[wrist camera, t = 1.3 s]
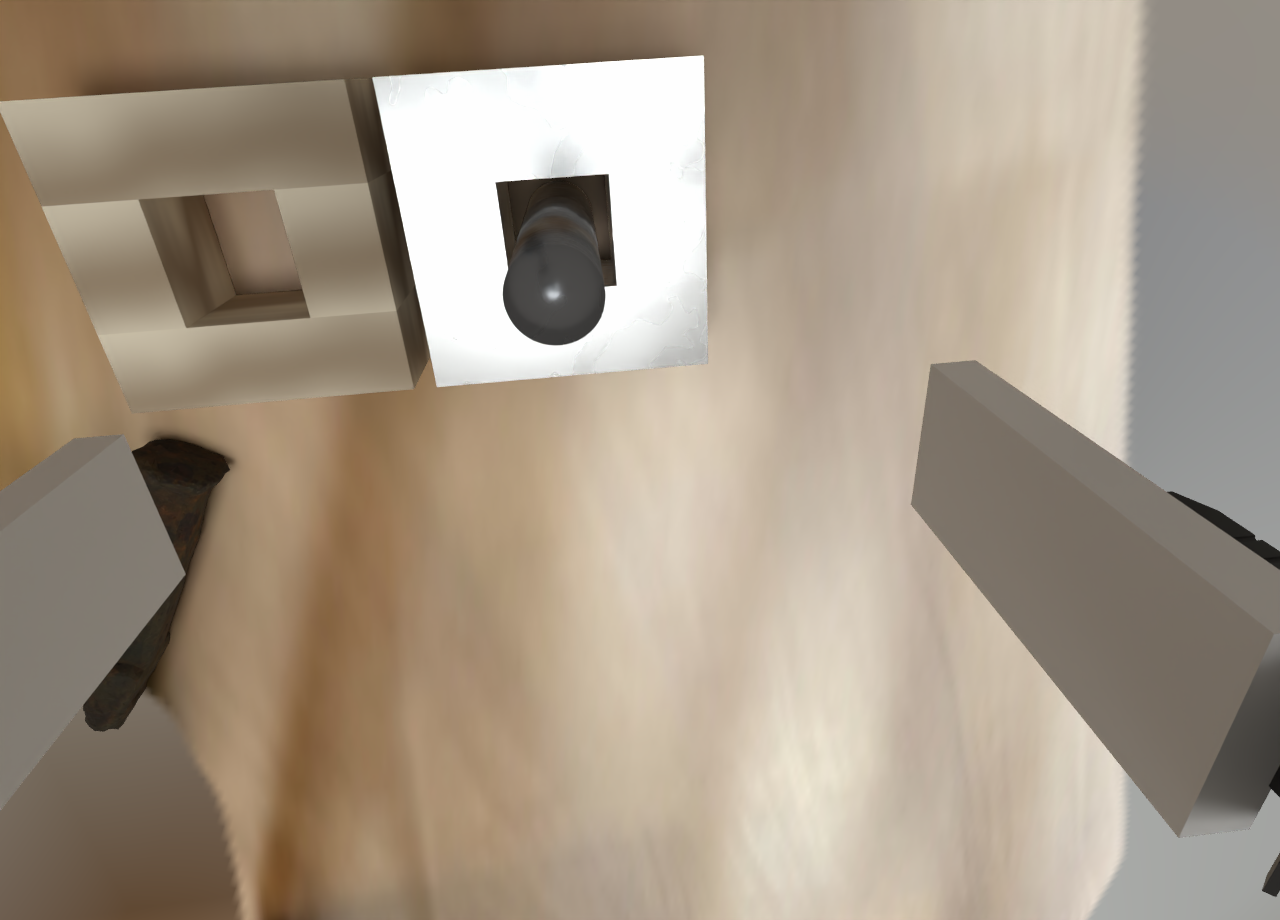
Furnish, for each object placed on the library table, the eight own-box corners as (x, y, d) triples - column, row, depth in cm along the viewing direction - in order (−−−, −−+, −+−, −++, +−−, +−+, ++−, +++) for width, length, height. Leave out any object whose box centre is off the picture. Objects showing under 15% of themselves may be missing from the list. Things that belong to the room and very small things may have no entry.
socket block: (401, 76, 30) (372, 77, 26) (684, 58, 31) (703, 55, 26) (453, 348, 36) (437, 387, 31) (691, 328, 36) (708, 363, 32)
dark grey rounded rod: (523, 182, 32) (494, 248, 20) (589, 178, 33) (601, 240, 20) (531, 250, 34) (510, 349, 22) (595, 245, 34) (609, 341, 22)
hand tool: (158, 423, 37) (106, 467, 32) (239, 454, 38) (199, 500, 34) (86, 673, 44) (37, 735, 40) (157, 693, 45) (115, 755, 41)
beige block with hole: (81, 97, 29) (-4, 101, 25) (376, 78, 30) (343, 79, 26) (186, 371, 35) (132, 413, 31) (433, 350, 36) (414, 389, 31)
